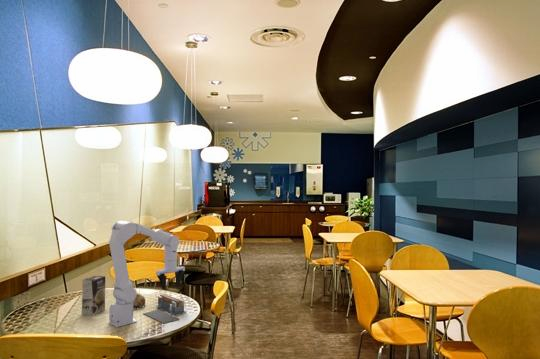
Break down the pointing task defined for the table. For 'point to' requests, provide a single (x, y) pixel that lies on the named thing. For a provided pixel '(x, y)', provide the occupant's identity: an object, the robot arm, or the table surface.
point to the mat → (161, 316)
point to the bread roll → (138, 301)
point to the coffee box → (93, 295)
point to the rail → (169, 299)
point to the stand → (170, 306)
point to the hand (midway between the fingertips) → (170, 287)
